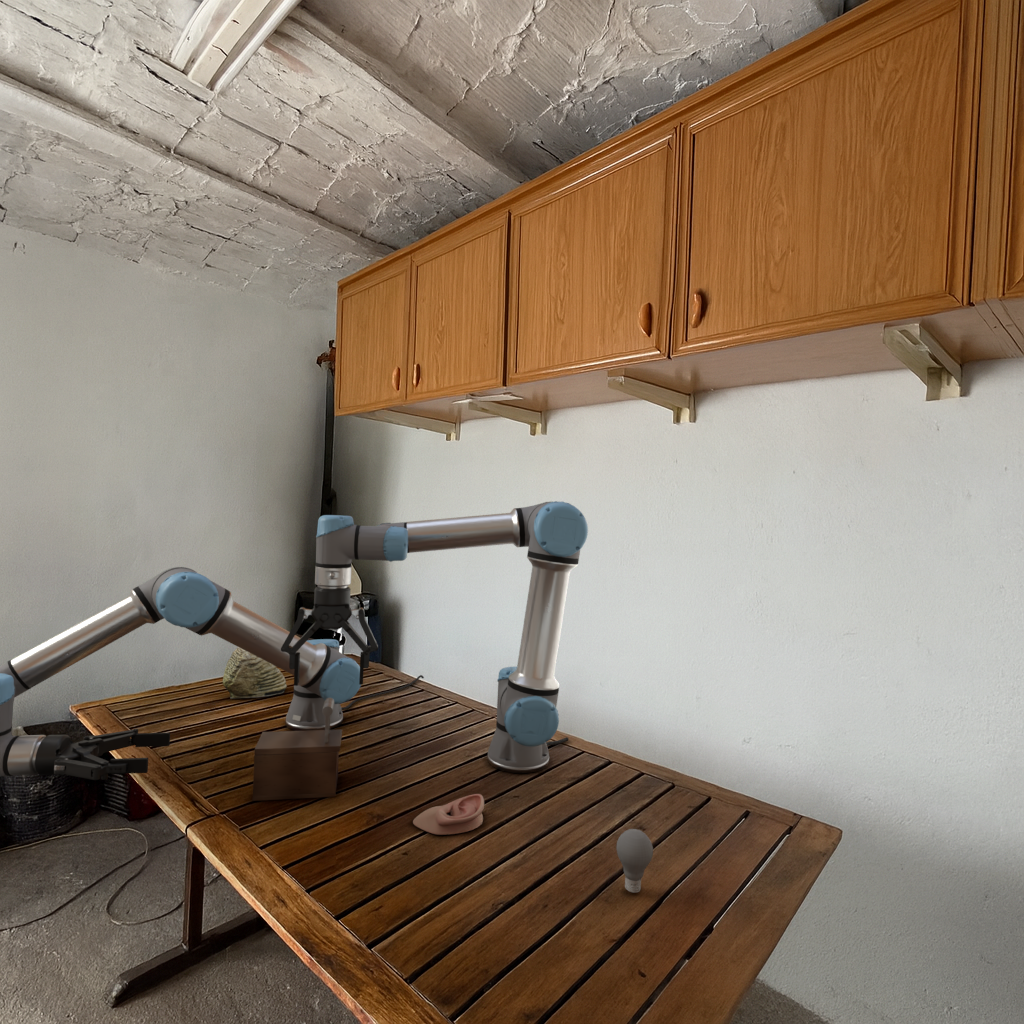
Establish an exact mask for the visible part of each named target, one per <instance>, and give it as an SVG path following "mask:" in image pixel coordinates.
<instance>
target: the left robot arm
mask: <svg viewBox="0 0 1024 1024" xmlns="http://www.w3.org/2000/svg"><path fill="white" fill-rule="evenodd" d="M164 619H165V621H166V622H167V623H169V624H170V625H173V626H177V627H179V628H185V629H187V630H189V631H191V632H192V633H195V634H197V635H199V636H201V637H202V636H205V635H208V634H212V635H214V636H216V637H217V638H220V639H222V640H224V641H226V642H228V643H230V644H231V645H234V646H236V647H237V648H238V647H239V648H241V649H243V650H245V651H247V652H249V653H251V654H253V655H255V656H257V657H259V658H261V659H263V660H265V661H267V662H269V663H271V664H273V665H275V666H276V668H278V669H280V670H281V671H282V670H283V671H285V672H286V673H288V674H290V675H292V676H294V669H290V668H289V658H290V655H289V654H288V653H286V652H282V651H281V647H282V645H283V644H284V642H285V640H286V638H287V637H288V635H289V633H290V631H289V630H287V629H285V628H284V627H282V626H280V625H278V624H276V623H274V622H272V621H271V620H269V619H267V618H265V617H264V616H262V615H260V614H258V613H256V612H255V611H252V610H251V609H249V608H247V607H245V606H244V605H242V604H240V603H238V602H236V601H234V600H233V596H232V592H231V591H230V590H229V589H227V588H225V587H223V586H222V585H219V584H218V583H216V582H215V581H213V580H211V579H210V578H208V577H206V576H205V575H203V574H201V573H199V572H198V571H196V570H194V569H192V568H189V567H185V566H174V567H171V568H168V569H165V570H163V571H161V572H159V573H158V574H156V575H154V576H153V577H151V578H149V579H148V580H146V581H145V582H142V583H141V584H139V585H137V586H135V587H134V588H131V590H130V592H129V595H128V596H126V597H124V598H123V599H121V600H119V601H117V602H115V603H113V604H111V605H109V606H108V607H106V608H104V609H102V610H100V611H98V612H96V613H95V614H93V615H91V616H89V617H87V618H85V619H84V620H81V621H80V622H78V623H75V624H73V625H72V626H71V627H68V628H67V629H65V630H63V631H61V632H59V633H58V634H55V635H54V636H52V637H50V638H48V639H45V640H44V641H42V642H41V643H38V644H37V645H35V646H33V647H31V648H28V649H27V650H25V651H24V652H22V653H20V654H18V655H16V656H15V657H13V658H11V659H9V660H7V661H5V662H3V663H1V664H0V777H18V776H19V777H21V776H22V778H24V779H25V778H28V777H29V776H36V775H39V776H56V775H64V776H70V777H76V778H81V779H86V780H91V781H99V780H101V781H106V780H108V779H109V775H124V774H125V775H126V774H147V773H148V771H149V757H129V758H127V757H125V758H123V757H122V758H111V759H110V760H106V759H103V758H101V756H103V754H105V753H109V752H114V751H117V750H121V749H125V748H129V747H132V746H133V747H134V746H135V748H151V747H155V748H156V747H158V748H159V747H170V744H171V732H139V728H133V729H129V730H128V729H127V730H122V731H116V732H109V733H104V734H103V733H102V734H97V735H96V734H95V735H85V736H83V740H80V741H78V742H74V741H72V738H71V736H70V735H68V734H49V735H46V734H30V735H29V734H28V735H12V734H13V733H12V732H13V715H14V703H15V698H17V697H18V696H21V695H22V694H24V693H25V692H27V691H29V690H31V689H33V688H34V687H36V686H37V685H39V684H41V683H43V682H44V681H46V680H48V679H50V678H52V677H54V676H55V675H57V674H59V673H60V672H62V671H64V670H66V669H68V668H70V667H71V666H73V665H74V664H76V663H78V662H80V661H82V660H84V659H85V658H87V657H89V656H90V655H93V654H94V653H96V652H98V651H100V650H101V649H103V648H105V647H107V646H109V645H110V644H112V643H114V642H115V641H117V640H120V639H121V638H123V637H125V636H126V635H129V634H130V633H132V632H134V631H136V630H137V629H138V628H141V627H142V626H144V625H146V624H150V625H151V624H152V625H154V624H157V623H158V622H160V621H162V620H164ZM300 638H301V637H299V636H298V635H297V634H295V636H294V638H293V639H292V641H291V643H290V645H289V646H292V647H293V646H294V645H295V644H296V642H297V641H298V640H299V639H300ZM297 652H300V668H299V683H298V686H294V685H293V695H292V696H293V697H292V699H291V702H290V704H289V708H288V711H287V713H286V715H285V726H286V728H287V729H289V730H291V731H309V730H325V720H326V716H325V715H323V713H322V710H323V706H324V702H325V700H326V699H327V698H333V699H334V707H333V712H332V714H331V716H330V730H334V729H335V728H337V727H339V726H340V725H342V723H343V722H344V714H343V711H344V710H348V709H349V708H350V707H352V706H353V704H355V703H357V702H359V701H363V700H367V699H370V698H373V697H379V696H383V695H386V694H390V693H395V692H397V691H400V690H403V689H407V688H409V687H410V686H412V685H413V684H415V683H416V682H418V680H419V679H420V678H421V679H425V677H424V675H422V674H420V675H418V676H417V677H416V678H415V679H414V680H413V681H411V682H410V683H408V684H406V685H403V686H400V687H397V688H394V689H390V690H387V691H382V692H377V693H374V694H370V695H366V696H365V695H364V696H361V697H359V698H356V699H354V700H352V699H353V698H354V697H355V696H356V695H357V693H358V692H359V691H360V688H361V687H362V684H361V685H359V679H360V664H358V662H357V661H356V659H354V658H351V657H349V656H348V655H345V654H344V653H342V652H340V642H339V640H337V639H334V638H333V639H332V638H323V639H322V638H320V639H308V640H307V641H306V642H305V643H304V644H303V645H302V646H301V648H300V649H299V650H298V651H297ZM350 700H352V701H350ZM348 701H350V703H348V705H346V706H344V707H343V706H341V704H344V703H347V702H348Z"/></svg>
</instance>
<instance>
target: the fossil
mask: <svg viewBox="0 0 1024 1024" xmlns="http://www.w3.org/2000/svg"><path fill="white" fill-rule="evenodd" d="M222 676H223V677H222V685H223V687H224V688H225V690H226V691H228V693H229V698H230V699H250V698H264V697H271V696H275V695H281V694H284V693H285V691H286V689H287V687H288V686H287V680H286V678H285V676H284V674H283V673H282V672H281V669H280V668H279V667H277V666H275V665H273V664H271V663H269V662H267V661H265V660H263V659H261V658H259V657H257V656H255V655H253V654H251V653H249V652H247V651H245V650H243V649H241V648H239V647H237V648H236V649H235V650H233V651H232V653H231V656H230V657H229V659H228V660H227V663H226V666H225V668H224V671H223V675H222Z"/></svg>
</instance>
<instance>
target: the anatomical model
mask: <svg viewBox="0 0 1024 1024" xmlns="http://www.w3.org/2000/svg"><path fill="white" fill-rule="evenodd" d="M484 808H485V799H484V796H483V795H482V794H481V793H473V794H470V795H466V796H463V797H460V798H457V799H455V800H453V801H451V802H449V803H445V804H443V805H437V806H433V807H430V808H427V809H425V810H424V811H422V812H421V813H419V814H418V815H417V816H416V817H414V819H413V820H412V824H413V825H414V826H415V827H416V828H418V829H420V830H422V831H424V832H427V833H429V834H432V835H437V836H443V835H455V834H461V833H466V832H469V831H473V830H475V829H477V828H479V827H481V825H482V824H483V821H484V816H483V815H484V814H483V811H484Z"/></svg>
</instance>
